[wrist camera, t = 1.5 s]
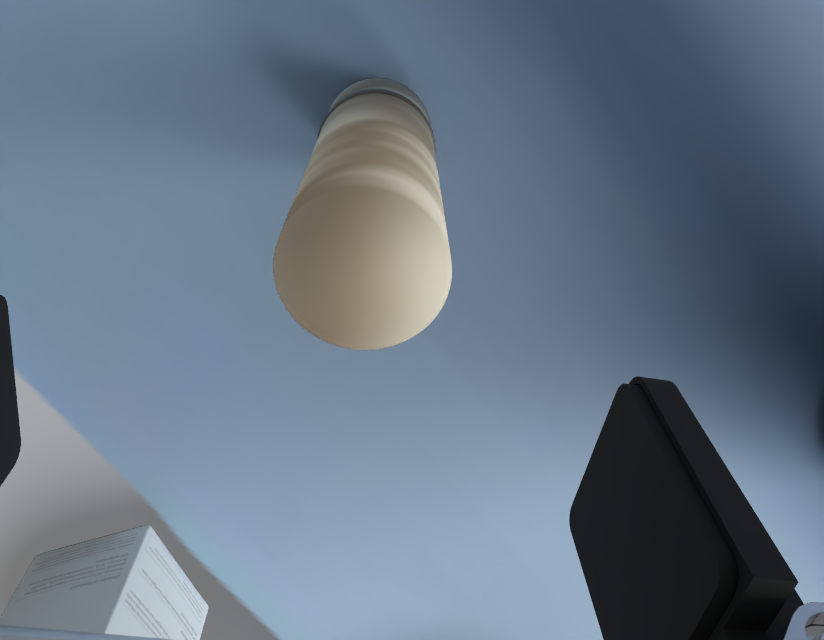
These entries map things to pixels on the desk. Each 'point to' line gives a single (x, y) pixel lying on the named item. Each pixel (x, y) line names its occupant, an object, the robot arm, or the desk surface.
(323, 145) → the ash peg
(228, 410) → the desk surface
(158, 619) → the supplement box
